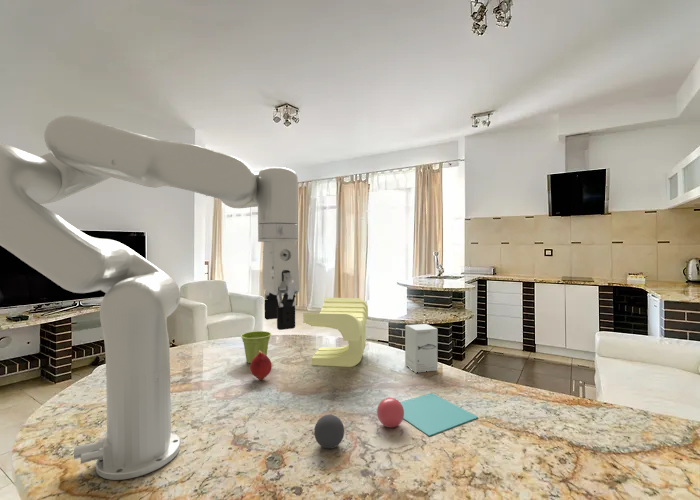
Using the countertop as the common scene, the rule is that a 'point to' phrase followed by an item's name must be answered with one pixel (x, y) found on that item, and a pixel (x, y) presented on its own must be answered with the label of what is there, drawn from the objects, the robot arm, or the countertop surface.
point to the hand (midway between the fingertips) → (279, 323)
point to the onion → (260, 366)
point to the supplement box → (421, 347)
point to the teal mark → (434, 414)
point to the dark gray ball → (329, 431)
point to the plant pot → (255, 343)
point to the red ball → (390, 412)
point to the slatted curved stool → (341, 330)
